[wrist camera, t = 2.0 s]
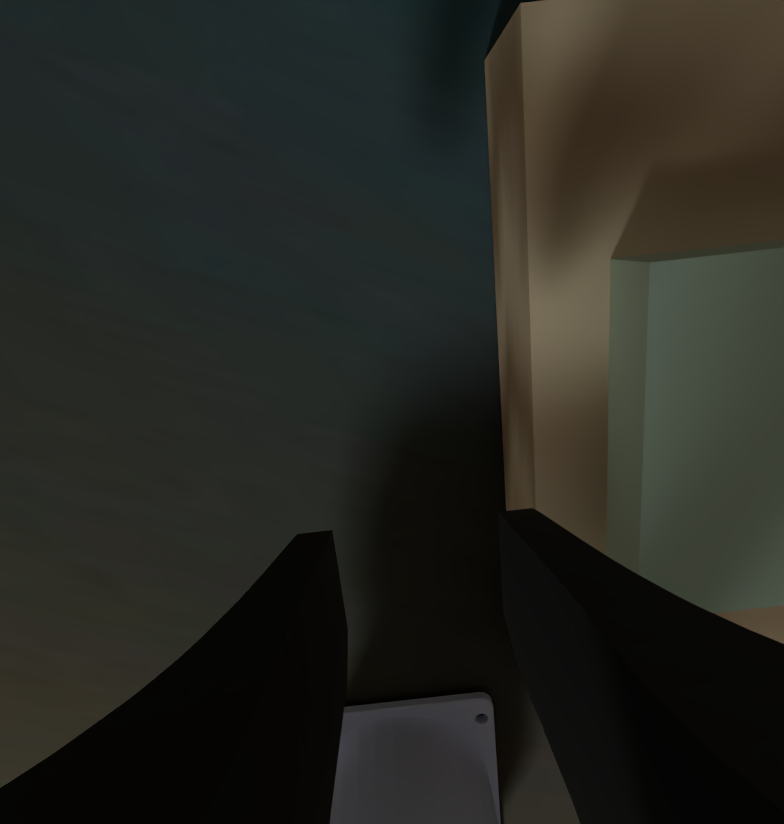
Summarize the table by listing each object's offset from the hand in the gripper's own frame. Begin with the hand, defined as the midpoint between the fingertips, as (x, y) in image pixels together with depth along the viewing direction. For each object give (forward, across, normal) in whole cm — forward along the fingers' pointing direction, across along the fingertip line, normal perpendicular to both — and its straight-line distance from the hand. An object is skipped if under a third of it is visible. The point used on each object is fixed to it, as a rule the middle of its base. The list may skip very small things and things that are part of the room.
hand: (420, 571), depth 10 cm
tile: (+5, -8, 0) cm, 10 cm away
